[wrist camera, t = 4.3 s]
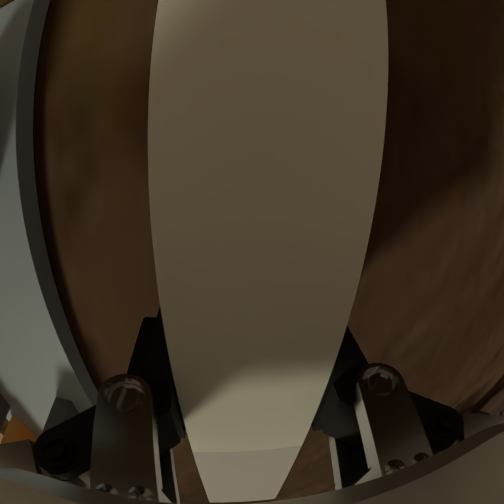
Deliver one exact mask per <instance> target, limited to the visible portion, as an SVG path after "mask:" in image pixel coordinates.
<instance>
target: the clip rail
mask: <svg viewBox="0 0 504 504" xmlns="http://www.w3.org/2000/svg"><path fill="white" fill-rule="evenodd" d="M49 3H50V0H15V1H13V2H11V3H9V4H7V5H6V6H4V7H2V8H1V9H0V430H1V428H2V426H3V423H4V421H5V419H6V418H7V419H8V421H9V424H8V426H7V429H6V431H5V434H4V436H3V439H2V441H1V444H3V443H10V442H16V441H22V440H27V439H30V440H31V441H32V442H35V441H36V440H37V438H38V437H39V436H40V435H41V434H42V433H43V432H45V431H46V430H48V429H50V428H52V427H54V426H56V425H58V424H60V423H62V422H64V421H66V420H68V419H70V418H72V417H73V416H75V415H77V414H79V413H81V412H83V411H85V410H86V409H88V408H90V407H92V406H94V405H96V403H97V396H98V392H97V390H96V388H95V386H94V384H93V382H92V380H91V377H90V375H89V373H88V371H87V369H86V367H85V364H84V362H83V360H82V358H81V355H80V353H79V351H78V348H77V346H76V343H75V341H74V338H73V336H72V333H71V330H70V328H69V325H68V322H67V319H66V316H65V314H64V311H63V308H62V304H61V301H60V298H59V295H58V292H57V288H56V285H55V281H54V278H53V274H52V270H51V266H50V262H49V258H48V254H47V249H46V245H45V240H44V235H43V230H42V224H41V218H40V212H39V205H38V198H37V189H36V180H35V168H34V151H33V106H34V89H35V78H36V69H37V61H38V54H39V48H40V42H41V37H42V32H43V27H44V23H45V19H46V14H47V10H48V7H49Z"/></svg>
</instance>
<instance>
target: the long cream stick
mask: <svg viewBox="0 0 504 504" xmlns="http://www.w3.org/2000/svg"><path fill="white" fill-rule="evenodd" d="M387 93H388V26H387V10H386V0H159V1H158V7H157V14H156V21H155V29H154V37H153V47H152V57H151V69H150V84H149V105H148V179H149V201H150V217H151V230H152V242H153V252H154V262H155V270H156V279H157V286H158V294H159V301H160V308H161V314H162V320H163V326H164V332H165V338H166V343H167V349H168V354H169V359H170V364H171V369H172V374H173V378H174V383H175V387H176V391H177V396H178V400H179V404H180V408H181V412H182V416H183V420H184V423H185V427H186V431H187V434H188V438H189V441H190V445H191V448H192V451H193V455H194V458H195V461H196V464H197V467H198V470H199V473H200V476H201V479H202V482H203V485H204V488H205V491H206V494H207V496H208V499H209V502H243V501H257V500H268V499H275V497H276V495H277V494H278V492H279V490H280V488H281V486H282V484H283V482H284V481H285V479H286V477H287V475H288V473H289V471H290V469H291V467H292V465H293V463H294V461H295V459H296V457H297V454H298V452H299V450H300V448H301V446H302V444H303V442H304V439H305V437H306V435H307V433H308V430H309V428H310V426H311V423H312V421H313V419H314V416H315V414H316V411H317V409H318V407H319V404H320V401H321V399H322V396H323V394H324V391H325V389H326V386H327V383H328V381H329V378H330V375H331V372H332V369H333V367H334V364H335V361H336V358H337V355H338V352H339V349H340V346H341V343H342V340H343V337H344V333H345V330H346V327H347V323H348V320H349V317H350V313H351V310H352V306H353V303H354V299H355V295H356V291H357V288H358V284H359V280H360V276H361V272H362V268H363V263H364V259H365V255H366V250H367V245H368V241H369V236H370V231H371V226H372V221H373V215H374V210H375V204H376V198H377V192H378V185H379V178H380V171H381V163H382V155H383V146H384V136H385V125H386V111H387Z"/></svg>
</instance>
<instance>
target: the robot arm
mask: <svg viewBox="0 0 504 504" xmlns="http://www.w3.org/2000/svg"><path fill="white" fill-rule="evenodd" d="M311 425H312V429H313V431H315V430H321V429H323V432H324V433H325V434H327V435H329V444H330V451H331V458H332V465H333V473H334V481H335V489H336V490H335V491H331V492H326V493H322V494H317V495H312V496H307V497H301V498H295V499H289V500H282V501H274V502H264V503H253V504H504V416H500V415H483V414H470V413H462V414H461V415H460V414H459V413H458V412H457V411H456V410H455V409H453V408H451V407H449V406H446V405H444V404H441V403H438V402H436V401H433V400H430V399H428V398H425V397H423V396H420V395H417V394H415V393H412V392H410V391H408V388H407V386H406V384H405V381H404V379H403V377H402V376H401V374H400V373H399V372H398V371H397V370H396V369H395V368H393V367H391V366H389V365H386V364H383V363H371V364H368V362H367V360H366V358H365V357H364V355H363V353H362V351H361V349H360V348H359V346H358V344H357V342H356V341H355V339H354V337H353V335H352V334H351V332H350V330H349V328H348V327H346V330H345V333H344V337H343V340H342V343H341V346H340V349H339V352H338V355H337V358H336V361H335V364H334V367H333V369H332V372H331V375H330V378H329V381H328V383H327V386H326V389H325V391H324V394H323V396H322V399H321V401H320V404H319V407H318V409H317V411H316V414H315V416H314V419H313V421H312V423H311ZM185 429H186V427H185V423H184V420H183V416H182V412H181V408H180V404H179V400H178V396H177V391H176V387H175V383H174V378H173V374H172V369H171V364H170V359H169V354H168V349H167V343H166V338H165V332H164V326H163V320H162V314H161V308H159V311H158V315H157V318H155V317H145V318H144V319H143V322H142V325H141V328H140V331H139V334H138V337H137V341H136V344H135V347H134V351H133V354H132V357H131V361H130V364H129V368H128V371H127V374H120V375H116V376H113V377H111V378H109V379H108V380H106V381H105V382H104V383H103V384H102V386H101V387H100V389H99V392H98V396H97V403H96V405H94V406H92V407H90V408H88V409H86V410H85V411H83V412H81V413H79V414H77V415H75V416H73V417H72V418H70V419H68V420H66V421H64V422H62V423H60V424H58V425H56V426H54V427H52V428H50V429H48V430H46V431H45V432H43V433H42V434H41V435H40V436H39V437H38V438H37V440H36V441H35V442H32V441H31V440H30V439H27V440H22V441H16V442H10V443H3V444H0V504H180V500H179V494H178V487H177V481H176V474H175V466H174V459H173V450H172V448H173V447H174V446H176V445H177V444H178V443H180V441H181V438H185Z"/></svg>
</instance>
